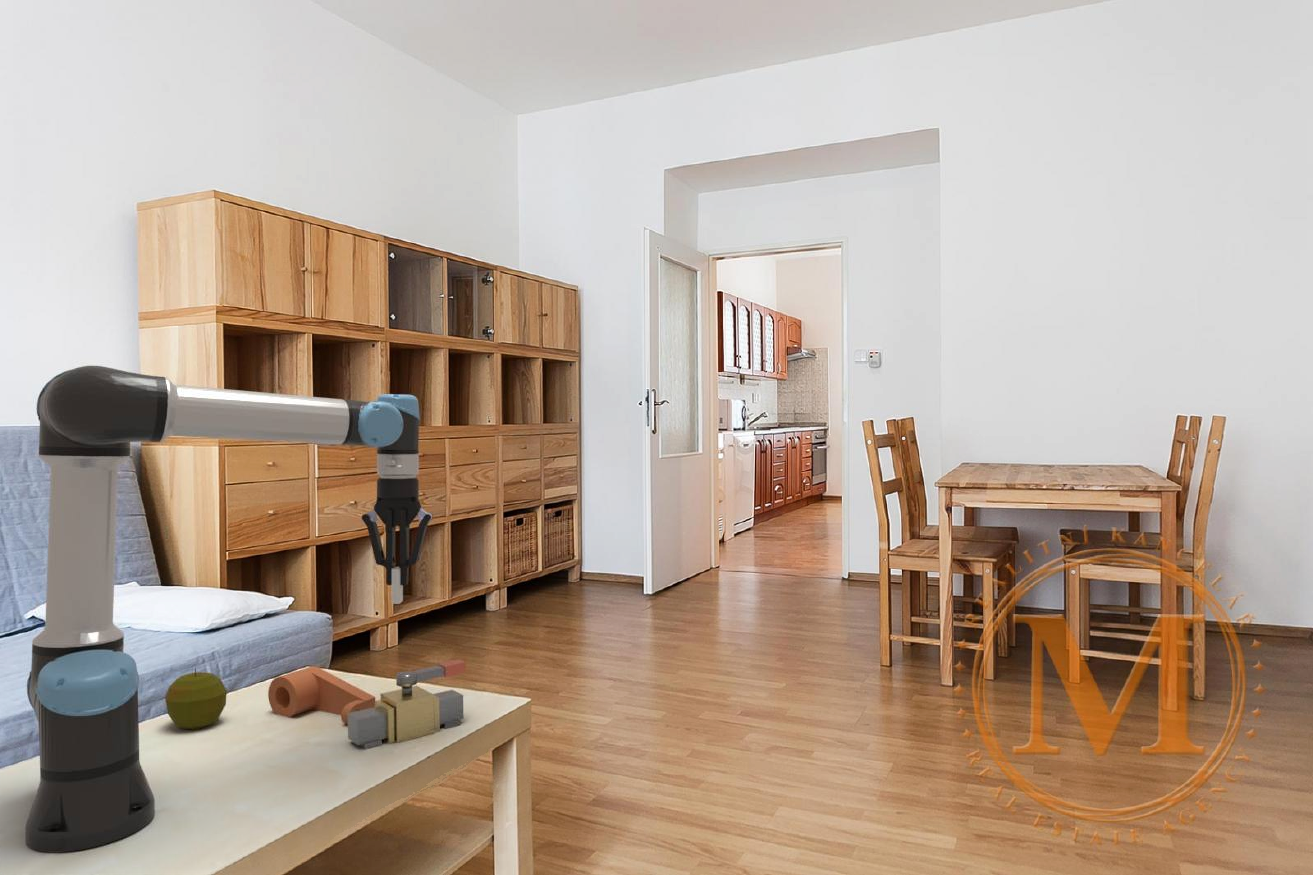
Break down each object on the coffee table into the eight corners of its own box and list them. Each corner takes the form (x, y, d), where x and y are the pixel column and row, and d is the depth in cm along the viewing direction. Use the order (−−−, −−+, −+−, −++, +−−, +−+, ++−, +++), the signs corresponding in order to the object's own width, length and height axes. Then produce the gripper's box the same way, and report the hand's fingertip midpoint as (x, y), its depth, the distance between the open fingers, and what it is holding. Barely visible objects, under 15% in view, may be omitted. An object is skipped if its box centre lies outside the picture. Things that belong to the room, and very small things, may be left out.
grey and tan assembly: (360, 751, 149) (359, 702, 149) (345, 740, 154) (344, 692, 154) (466, 724, 162) (466, 679, 161) (449, 715, 167) (448, 671, 167)
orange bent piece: (268, 715, 169) (267, 674, 169) (302, 703, 176) (301, 664, 176) (343, 731, 160) (342, 688, 160) (375, 717, 167) (375, 676, 167)
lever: (402, 688, 155) (402, 677, 155) (392, 683, 158) (392, 673, 158) (467, 672, 164) (467, 662, 164) (457, 668, 167) (457, 658, 167)
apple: (238, 719, 166) (236, 662, 166) (200, 737, 157) (199, 676, 156) (193, 716, 168) (192, 659, 168) (153, 733, 159) (152, 673, 159)
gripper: (356, 477, 159) (356, 606, 160) (429, 478, 160) (428, 606, 160) (367, 475, 167) (367, 598, 167) (436, 476, 168) (436, 598, 168)
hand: (397, 602), depth 164 cm, fingers closed
